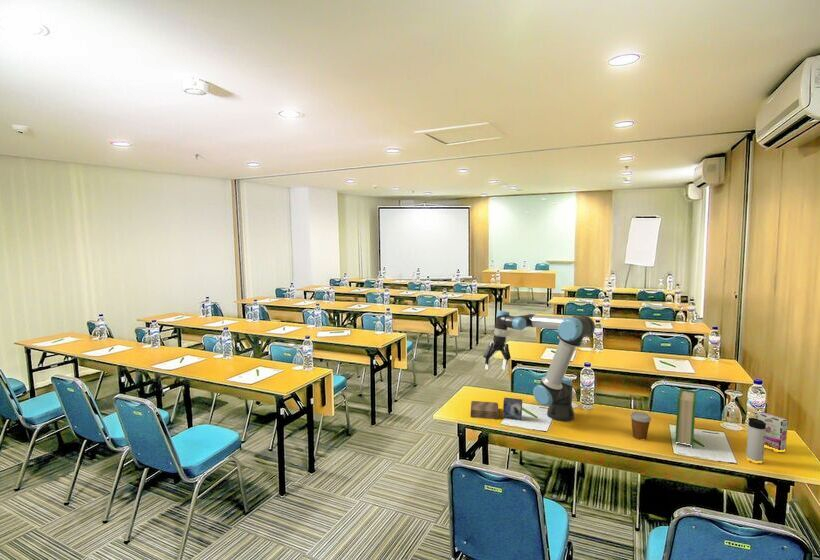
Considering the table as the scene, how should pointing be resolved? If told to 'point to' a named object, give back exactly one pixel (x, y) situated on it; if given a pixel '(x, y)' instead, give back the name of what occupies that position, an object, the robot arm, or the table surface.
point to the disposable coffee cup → (640, 424)
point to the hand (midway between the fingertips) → (495, 369)
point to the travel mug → (756, 439)
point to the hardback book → (685, 416)
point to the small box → (512, 408)
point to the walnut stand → (484, 409)
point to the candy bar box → (774, 430)
